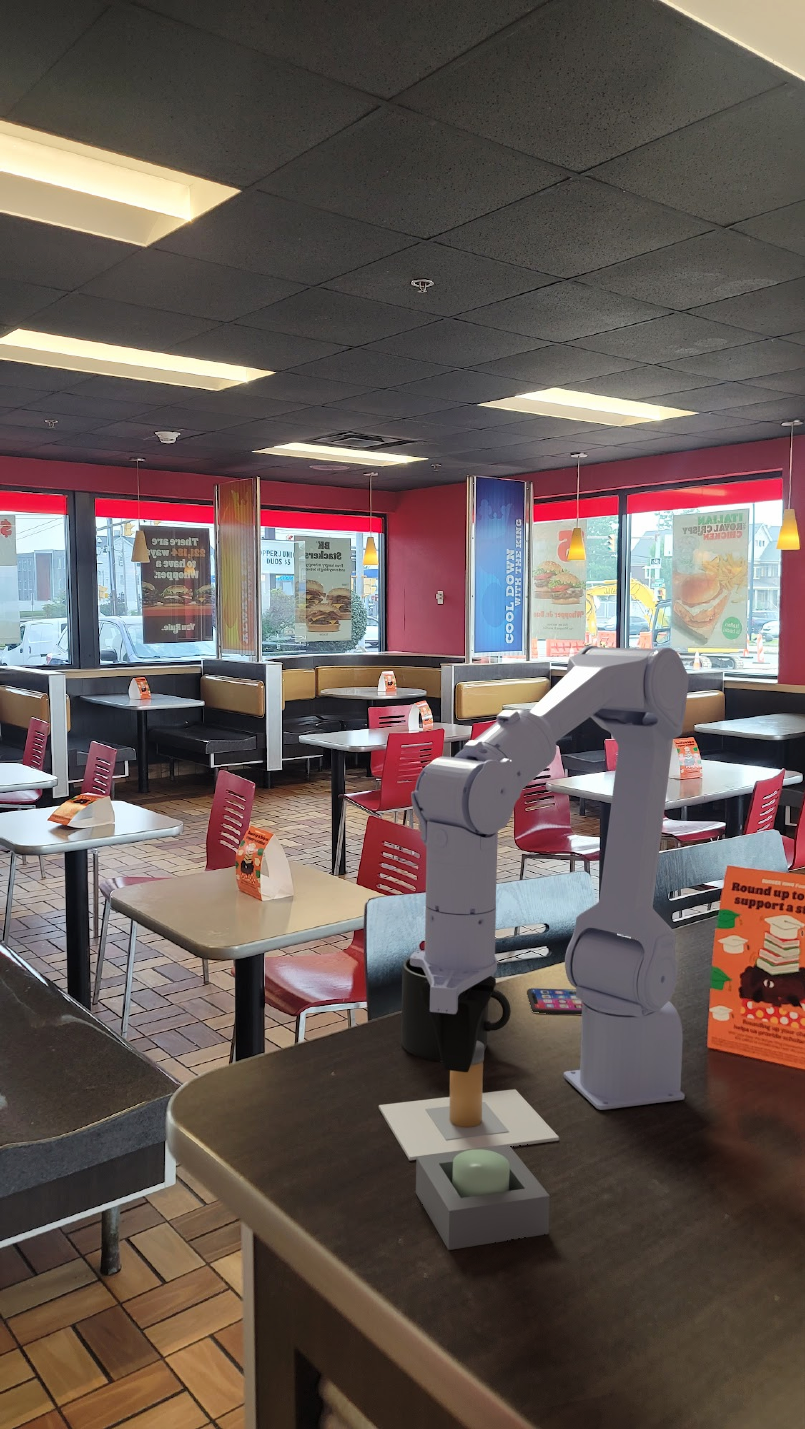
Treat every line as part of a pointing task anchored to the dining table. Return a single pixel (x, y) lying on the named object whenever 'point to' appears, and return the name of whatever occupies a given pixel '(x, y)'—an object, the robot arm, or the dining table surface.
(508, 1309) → the dining table surface
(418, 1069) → the dining table surface
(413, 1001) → the mug
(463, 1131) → the paper
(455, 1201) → the button housing
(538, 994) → the smartphone
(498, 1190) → the button
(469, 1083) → the bottle
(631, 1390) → the dining table surface
